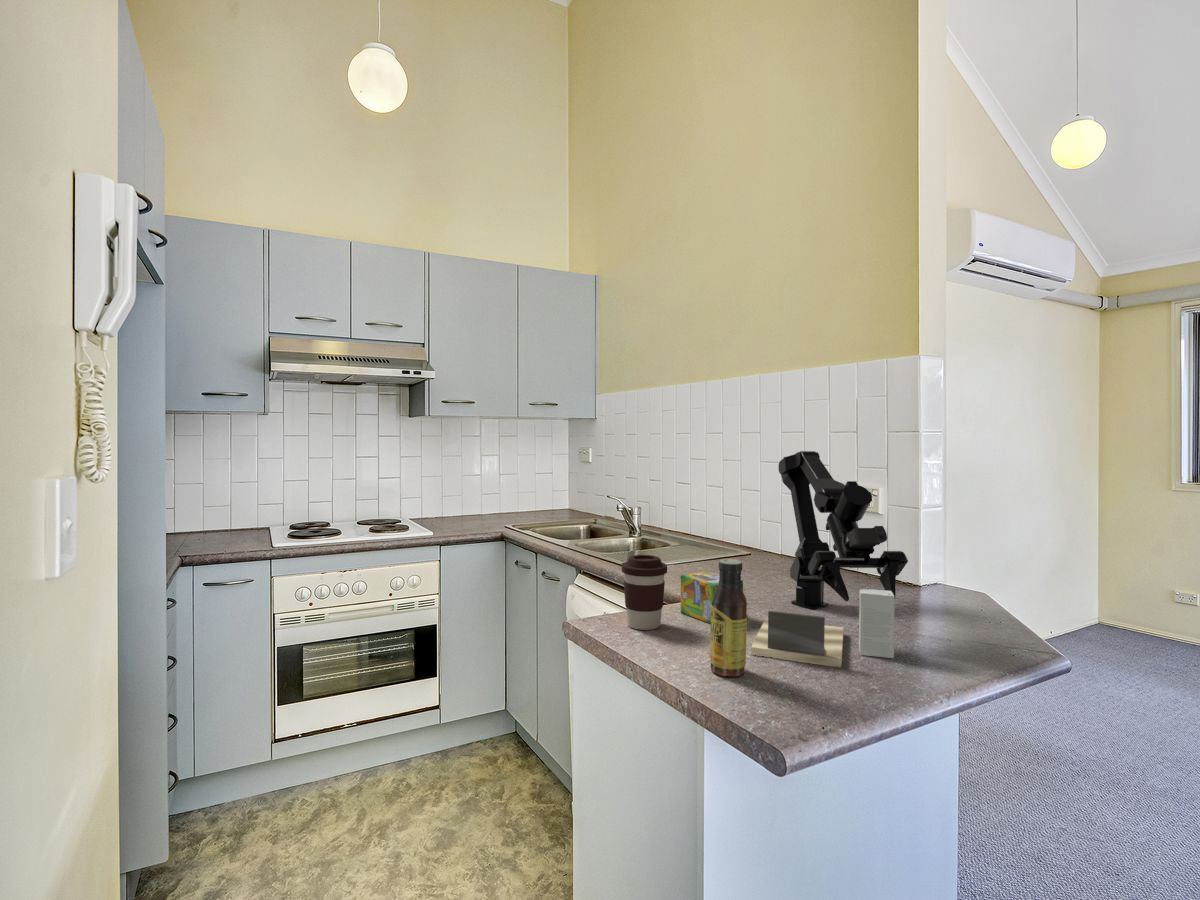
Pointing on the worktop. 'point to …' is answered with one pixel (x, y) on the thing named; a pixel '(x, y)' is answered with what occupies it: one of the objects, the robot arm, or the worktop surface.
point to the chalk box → (699, 594)
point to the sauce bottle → (728, 622)
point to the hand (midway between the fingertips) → (870, 600)
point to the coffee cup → (644, 591)
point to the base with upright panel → (799, 639)
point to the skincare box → (876, 623)
